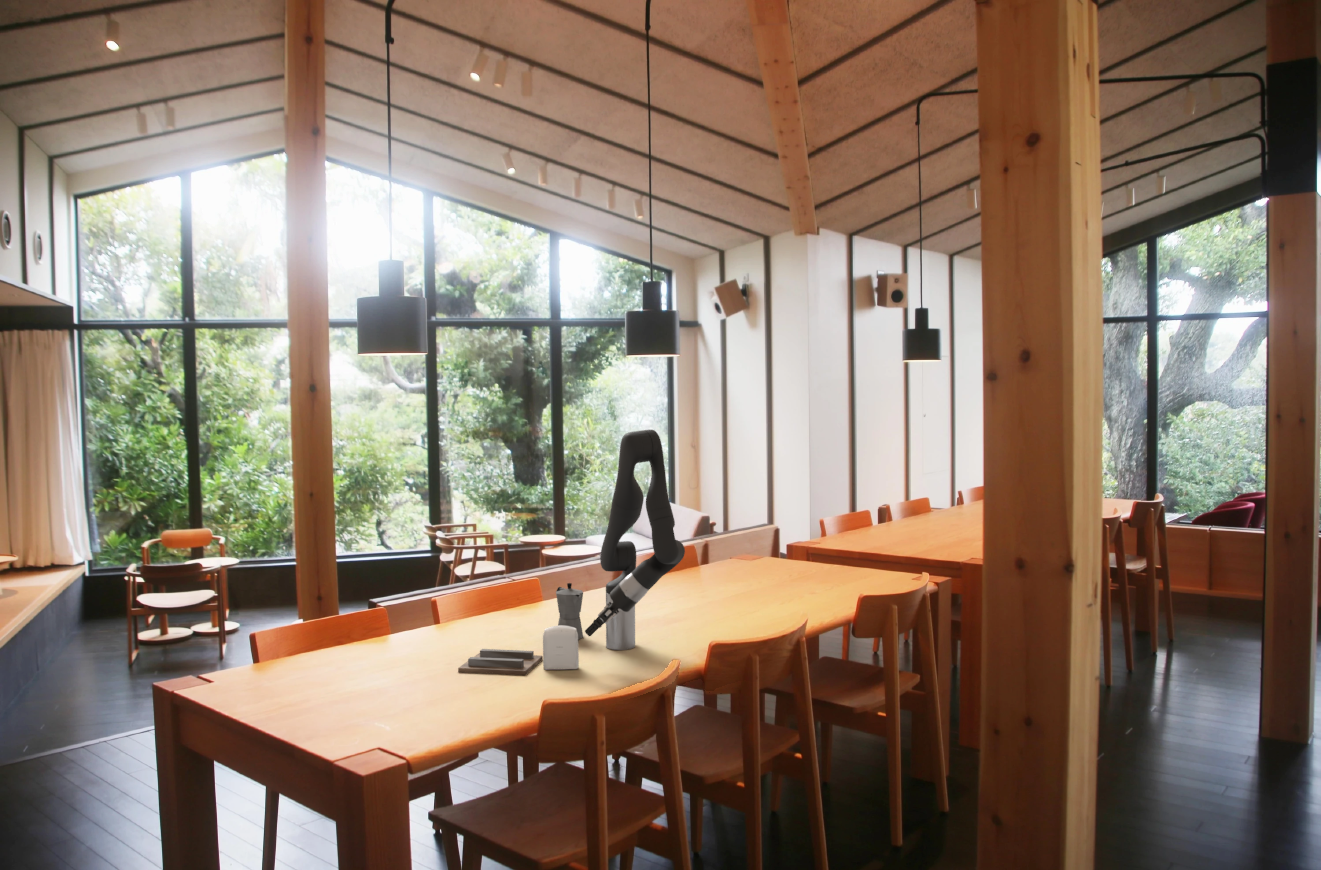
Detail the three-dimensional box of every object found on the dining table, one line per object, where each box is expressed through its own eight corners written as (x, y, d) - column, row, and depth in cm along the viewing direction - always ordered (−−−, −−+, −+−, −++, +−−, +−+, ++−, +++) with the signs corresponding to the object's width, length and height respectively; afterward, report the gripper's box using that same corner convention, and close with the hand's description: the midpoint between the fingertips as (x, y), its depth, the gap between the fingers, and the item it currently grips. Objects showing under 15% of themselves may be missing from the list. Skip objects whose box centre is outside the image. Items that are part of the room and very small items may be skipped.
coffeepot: (591, 639, 283) (591, 584, 282) (566, 643, 277) (565, 587, 277) (570, 629, 296) (569, 577, 295) (545, 633, 290) (544, 580, 290)
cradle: (479, 656, 262) (479, 646, 262) (542, 659, 259) (542, 648, 259) (458, 672, 246) (458, 660, 246) (525, 675, 243) (525, 663, 243)
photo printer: (542, 670, 248) (541, 627, 247) (544, 666, 252) (543, 624, 252) (577, 670, 247) (577, 627, 247) (579, 666, 252) (579, 624, 252)
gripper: (625, 577, 253) (588, 615, 255) (615, 586, 239) (575, 626, 241) (643, 596, 252) (605, 633, 254) (634, 606, 238) (593, 646, 240)
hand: (590, 630), depth 248 cm, fingers open, 8 cm apart
